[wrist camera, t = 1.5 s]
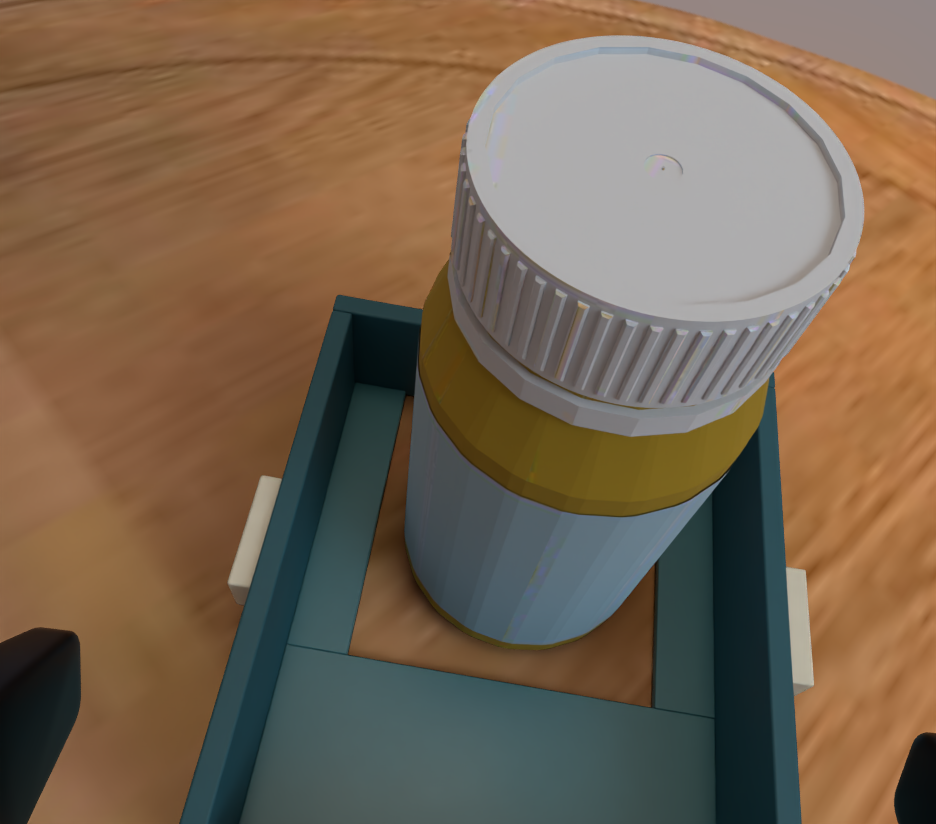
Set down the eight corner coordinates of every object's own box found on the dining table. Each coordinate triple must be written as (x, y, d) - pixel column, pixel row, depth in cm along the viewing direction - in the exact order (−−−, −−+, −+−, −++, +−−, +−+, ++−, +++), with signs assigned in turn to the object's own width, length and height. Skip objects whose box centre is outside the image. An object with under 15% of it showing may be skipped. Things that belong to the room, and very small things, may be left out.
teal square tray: (763, 978, 20) (842, 992, 16) (175, 876, 20) (133, 870, 16) (743, 439, 28) (794, 374, 24) (324, 365, 28) (317, 289, 24)
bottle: (538, 407, 28) (679, -23, 15) (676, 574, 25) (989, 226, 12) (360, 508, 25) (344, 96, 12) (492, 706, 23) (646, 440, 10)
